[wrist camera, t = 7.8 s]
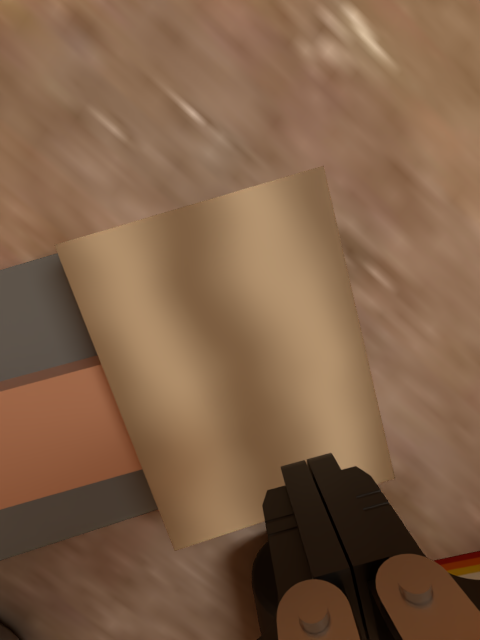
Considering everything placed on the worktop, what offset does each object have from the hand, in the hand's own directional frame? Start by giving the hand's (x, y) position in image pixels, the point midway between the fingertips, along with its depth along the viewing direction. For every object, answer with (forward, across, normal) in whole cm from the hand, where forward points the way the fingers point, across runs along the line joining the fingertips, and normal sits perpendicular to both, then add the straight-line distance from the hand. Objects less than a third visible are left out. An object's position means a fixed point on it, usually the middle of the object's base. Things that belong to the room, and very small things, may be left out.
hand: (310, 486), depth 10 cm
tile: (+11, +12, 0) cm, 16 cm away
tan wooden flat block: (+11, +1, -1) cm, 12 cm away
